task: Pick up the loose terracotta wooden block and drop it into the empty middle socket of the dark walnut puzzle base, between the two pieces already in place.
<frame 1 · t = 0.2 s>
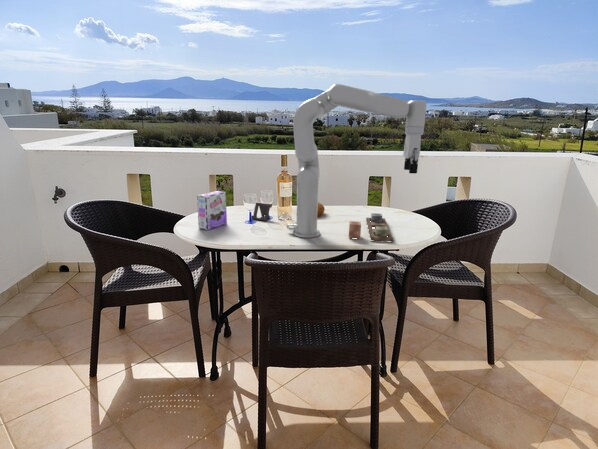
hand: (410, 171, 170), 31 cm above the table, fingers open, 9 cm apart
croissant: (311, 214, 217), on the table
terracotta block: (354, 237, 179), on the table
portable electronic device stand: (262, 219, 206), on the table
walnut puzzle base: (378, 230, 189), on the table
candy box: (213, 226, 191), on the table
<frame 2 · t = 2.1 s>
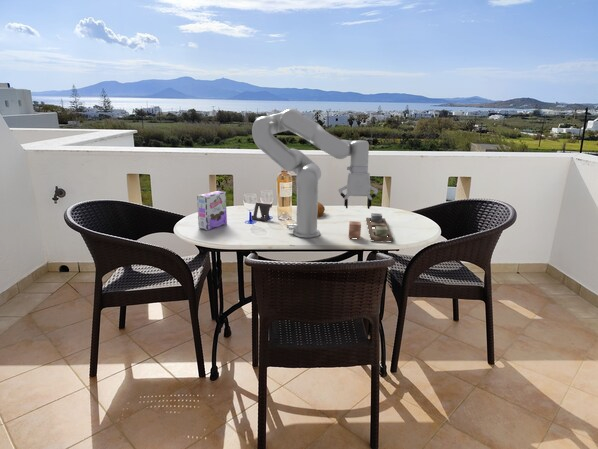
hand: (357, 207, 175), 14 cm above the table, fingers open, 9 cm apart
nothing on the table moved.
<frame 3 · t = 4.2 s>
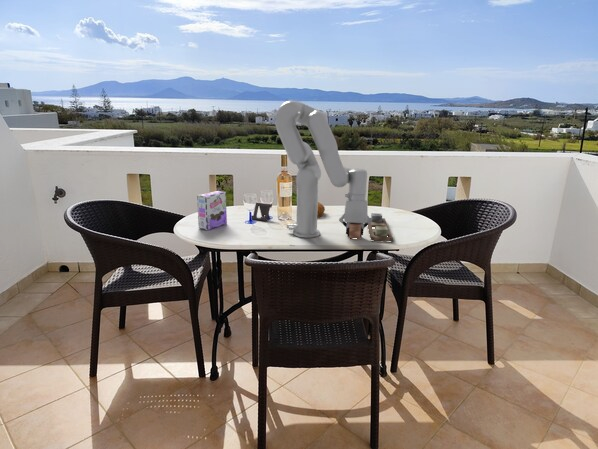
hand: (354, 235, 179), 1 cm above the table, fingers closed on terracotta block, 5 cm apart
terracotta block: (354, 237, 179), on the table, touching gripper
everything else where it was.
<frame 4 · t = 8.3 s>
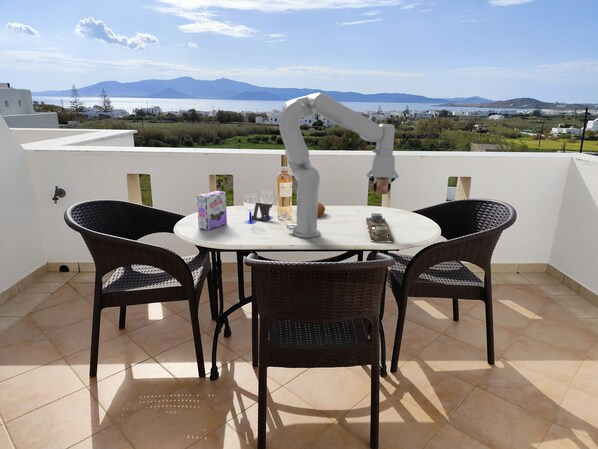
hand: (381, 191, 184), 20 cm above the table, fingers closed on terracotta block, 5 cm apart
terracotta block: (381, 192, 184), point 19 cm above the table, touching gripper
everything else where it was.
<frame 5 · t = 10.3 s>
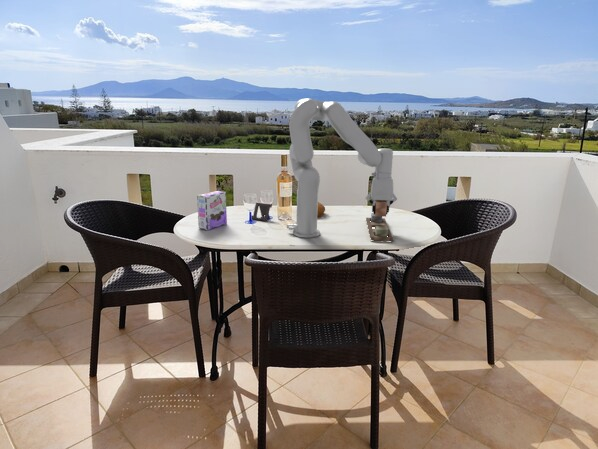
hand: (380, 213, 187), 9 cm above the table, fingers closed on terracotta block, 5 cm apart
terracotta block: (380, 214, 187), point 8 cm above the table, touching gripper
everything else where it was.
when the fingers open (3 cm above the table, at t = 12.3 s): terracotta block drops 2 cm, resting in walnut puzzle base.
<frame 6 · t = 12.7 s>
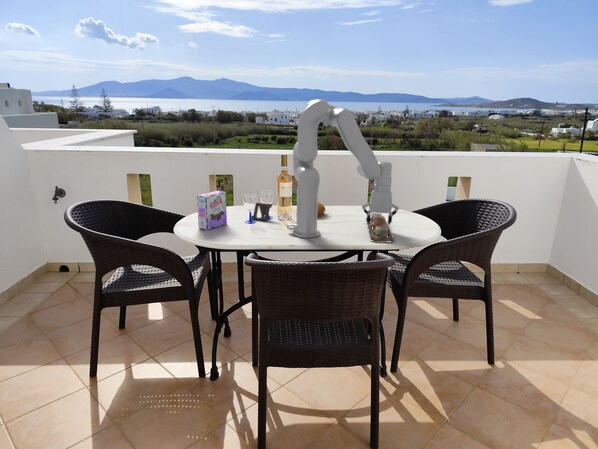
hand: (378, 223, 188), 4 cm above the table, fingers open, 9 cm apart
terracotta block: (378, 231, 189), resting in walnut puzzle base
everything else where it was.
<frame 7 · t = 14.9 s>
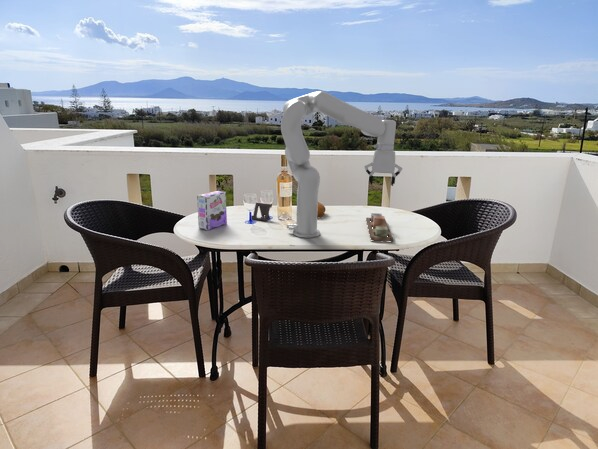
hand: (381, 184, 184), 22 cm above the table, fingers open, 9 cm apart
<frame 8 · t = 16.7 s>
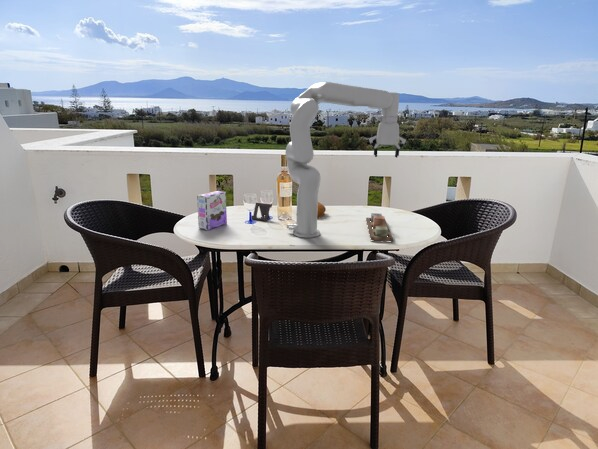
hand: (386, 156, 189), 34 cm above the table, fingers open, 9 cm apart
at the end: terracotta block 0.1 cm off-centre on the walnut puzzle base, point 0.0 cm above the walnut puzzle base's base; terracotta block tilted 0°; the gripper is holding nothing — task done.
